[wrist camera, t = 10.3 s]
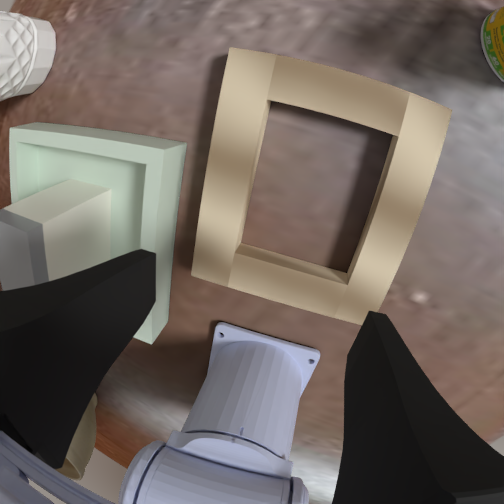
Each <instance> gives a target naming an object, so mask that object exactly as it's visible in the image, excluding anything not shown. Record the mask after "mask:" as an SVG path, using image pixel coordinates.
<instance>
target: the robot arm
mask: <svg viewBox="0 0 504 504" xmlns="http://www.w3.org/2000/svg"><path fill="white" fill-rule="evenodd" d="M155 302H156V253H154V252H150V251H147V250H143V249H138V250H135V251H132V252H129V253H126V254H124V255H121V256H118V257H116V258H113V259H111V260H108V261H106V262H103V263H100V264H98V265H95V266H93V267H90V268H88V269H85V270H82V271H79V272H76V273H73V274H71V275H68V276H65V277H62V278H59V279H55V280H52V281H48V282H45V283H41V284H37V285H33V286H28V287H22V288H17V289H12V290H6V291H0V504H54V503H53V502H52V501H51V500H49V499H48V498H46V497H45V496H44V495H42V494H41V493H40V492H38V491H37V490H35V489H34V488H33V487H32V486H30V485H29V481H28V478H29V479H30V480H32V481H33V482H35V483H36V484H37V485H39V486H40V487H42V488H43V489H45V490H46V491H48V492H49V493H51V494H52V495H54V496H55V497H57V498H59V499H60V500H61V501H63V502H65V503H66V504H115V503H113V502H111V501H109V500H107V499H105V498H103V497H101V496H99V495H97V494H95V493H93V492H92V491H90V490H88V489H86V488H84V487H83V486H81V485H79V484H77V483H76V482H74V481H72V480H71V479H69V478H67V477H66V476H64V475H62V474H61V473H59V472H58V471H56V470H55V469H59V468H62V467H63V464H64V461H65V458H66V455H67V452H68V450H69V447H70V444H71V442H72V439H73V437H74V434H75V432H76V430H77V428H78V425H79V423H80V421H81V419H82V416H83V414H84V412H85V410H86V408H87V406H88V404H89V402H90V400H91V399H92V397H93V395H94V393H95V391H96V389H97V388H98V386H99V384H100V382H101V381H102V379H103V377H104V375H105V374H106V372H107V371H108V370H109V368H110V367H111V365H112V364H113V363H114V361H115V360H116V359H117V357H118V356H119V355H120V353H121V352H122V351H123V349H124V348H125V347H126V346H127V344H128V343H129V342H130V340H131V339H132V338H133V336H134V335H135V334H136V333H137V331H138V330H139V329H140V327H141V326H142V325H143V323H144V321H145V320H146V318H147V316H148V315H149V313H150V311H151V309H152V307H153V306H154V304H155ZM219 332H221V333H223V334H224V335H222V334H220V333H219ZM309 359H313V360H309ZM319 359H320V352H319V351H318V350H316V349H313V348H309V347H306V346H302V345H298V344H295V343H291V342H287V341H284V340H280V339H277V338H273V337H270V336H267V335H263V334H260V333H256V332H253V331H250V330H246V329H243V328H240V327H237V326H234V325H230V324H227V323H224V322H219V323H218V324H217V325H216V327H215V332H214V338H213V344H212V349H211V355H210V361H209V367H208V372H207V377H206V379H205V381H204V383H203V385H202V388H201V390H200V392H199V394H198V396H197V398H196V400H195V403H194V405H193V407H192V409H191V411H190V413H189V415H188V418H187V420H186V422H185V424H184V426H183V428H182V430H181V432H178V431H175V430H173V431H172V433H171V435H170V437H169V439H168V441H167V443H165V442H163V441H154V442H152V443H151V444H149V445H147V446H145V447H143V448H142V449H141V450H140V451H139V452H138V453H137V454H136V456H135V457H134V459H133V460H132V462H131V464H130V465H129V467H128V469H127V472H126V474H125V476H124V479H123V482H122V485H121V488H120V493H119V501H118V502H119V503H118V504H308V502H309V494H308V490H307V488H306V487H305V485H304V484H303V481H302V479H300V478H298V477H291V473H292V468H293V462H292V461H288V460H289V455H290V450H291V444H292V439H293V434H294V428H295V422H296V417H297V411H298V405H299V399H300V396H301V394H302V393H303V391H304V389H305V387H306V385H307V383H308V381H309V379H310V377H311V375H312V373H313V371H314V369H315V367H316V365H317V363H318V361H319ZM27 477H28V478H27ZM332 504H504V456H502V455H501V454H499V453H498V452H497V451H495V450H494V449H493V448H492V447H491V446H490V445H488V444H487V443H486V442H485V441H484V440H483V439H481V438H480V437H479V436H478V435H477V434H476V433H475V432H474V431H473V430H472V429H471V428H470V427H469V426H468V425H467V424H466V423H465V422H464V421H463V420H462V419H461V418H460V417H459V416H458V415H457V414H456V413H455V412H454V410H453V409H452V408H451V407H450V406H449V405H448V403H447V402H446V401H445V400H444V399H443V397H442V396H441V395H440V394H439V393H438V391H437V390H436V389H435V387H434V386H433V385H432V383H431V382H430V380H429V379H428V378H427V376H426V375H425V373H424V372H423V371H422V369H421V368H420V366H419V365H418V363H417V362H416V360H415V359H414V357H413V356H412V354H411V352H410V351H409V349H408V348H407V346H406V344H405V343H404V341H403V340H402V338H401V336H400V335H399V333H398V332H397V330H396V328H395V327H394V325H393V324H392V322H391V321H390V319H389V318H388V316H387V315H386V314H382V313H378V312H374V311H370V310H369V312H368V314H367V316H366V318H365V320H364V322H363V324H362V327H361V329H360V331H359V333H358V335H357V337H356V339H355V341H354V343H353V345H352V347H351V349H350V351H349V353H348V355H347V363H346V371H345V380H344V441H343V451H342V457H341V463H340V469H339V475H338V480H337V484H336V489H335V493H334V498H333V502H332Z"/></svg>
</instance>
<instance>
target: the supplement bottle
mask: <svg viewBox="0 0 504 504" xmlns="http://www.w3.org/2000/svg"><path fill="white" fill-rule="evenodd" d="M481 44H482V49H483V52H484V55H485V57H486V60H487V62H488V64H489V65H490V67H491V68H492V70H493V71H494V73H495V74H496V75H497V76H498V78H499V79H500V80H501V81H502V82H504V6H503V7H501V8H499V9H497V10H495V11H493V12H492V13H490V14H489V15H488V16H487V17H486V18H485V20H484V22H483V24H482V27H481Z"/></svg>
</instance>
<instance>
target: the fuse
mask: <svg viewBox="0 0 504 504" xmlns="http://www.w3.org/2000/svg"><path fill="white" fill-rule="evenodd" d="M111 193H112V189H110V188H106V187H102V186H98V185H94V184H90V183H86V182H82V181H78V180H74V179H69V180H67V181H64V182H62V183H59V184H57V185H54V186H52V187H49V188H47V189H45V190H42V191H40V192H38V193H36V194H33V195H31V196H29V197H27V198H24V199H22V200H20V201H18V202H16V203H14V204H11V205H9V206H7V207H5V208H3V209H1V210H0V281H1V285H2V289H3V291H6V290H12V289H17V288H22V287H28V286H33V285H37V284H41V283H45V282H48V281H52V280H55V279H59V278H62V277H65V276H68V275H71V274H73V273H76V272H79V271H82V270H85V269H88V268H90V267H93V266H95V265H98V264H100V263H103V262H106V261H108V260H111V253H110V227H111Z"/></svg>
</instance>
